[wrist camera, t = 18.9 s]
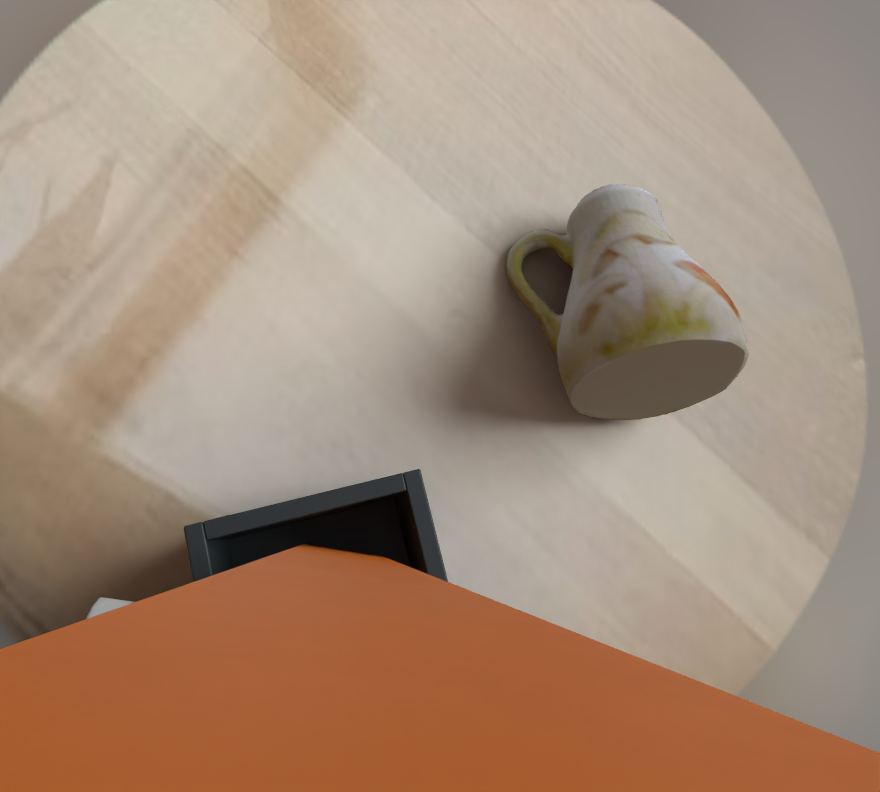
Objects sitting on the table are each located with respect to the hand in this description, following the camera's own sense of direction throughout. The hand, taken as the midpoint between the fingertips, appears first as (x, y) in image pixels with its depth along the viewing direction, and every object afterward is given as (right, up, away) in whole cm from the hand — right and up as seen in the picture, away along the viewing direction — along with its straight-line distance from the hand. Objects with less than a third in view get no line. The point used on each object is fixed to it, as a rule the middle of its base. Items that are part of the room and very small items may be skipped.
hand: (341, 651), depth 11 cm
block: (-2, -4, +15) cm, 16 cm away
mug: (+9, +8, +20) cm, 23 cm away
